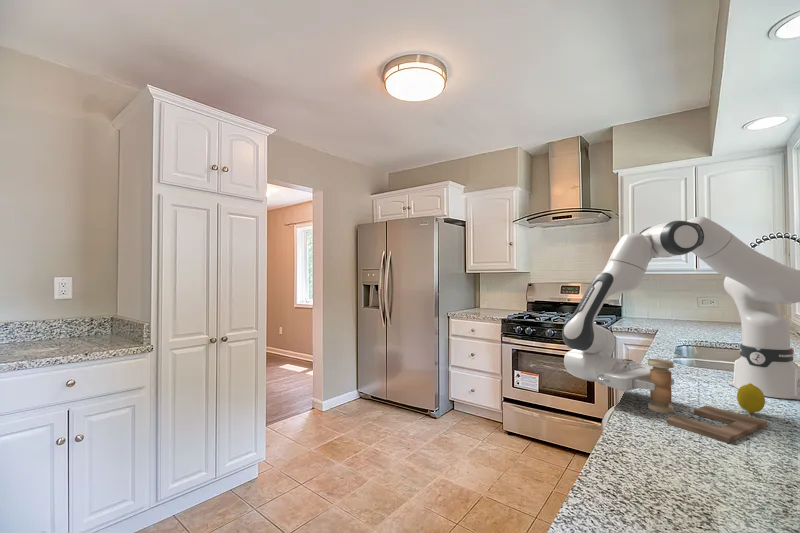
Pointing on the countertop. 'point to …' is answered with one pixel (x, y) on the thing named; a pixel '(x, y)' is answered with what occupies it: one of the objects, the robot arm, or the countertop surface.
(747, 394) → the lemon
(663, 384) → the bobbin
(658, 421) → the countertop surface
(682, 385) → the countertop surface
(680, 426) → the notched board
